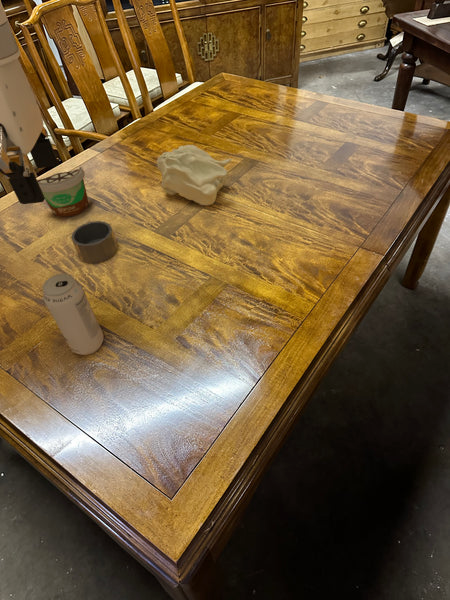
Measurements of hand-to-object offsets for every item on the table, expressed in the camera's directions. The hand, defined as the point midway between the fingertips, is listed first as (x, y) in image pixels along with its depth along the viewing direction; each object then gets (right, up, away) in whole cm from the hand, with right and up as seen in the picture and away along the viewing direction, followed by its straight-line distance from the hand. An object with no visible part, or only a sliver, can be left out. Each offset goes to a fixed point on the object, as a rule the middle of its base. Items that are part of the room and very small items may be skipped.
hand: (41, 183), depth 59 cm
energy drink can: (+1, -25, +16) cm, 30 cm away
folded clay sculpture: (+19, +10, +49) cm, 53 cm away
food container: (-13, +6, +47) cm, 49 cm away
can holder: (-3, -5, +35) cm, 36 cm away
